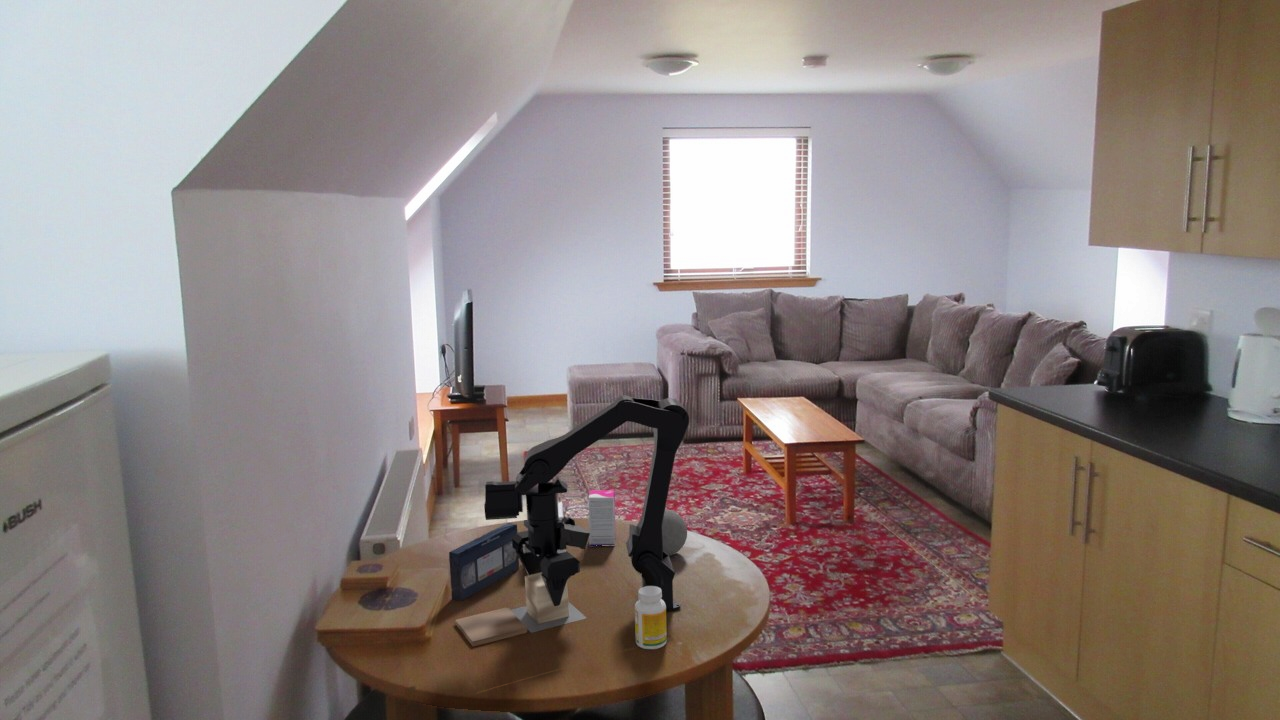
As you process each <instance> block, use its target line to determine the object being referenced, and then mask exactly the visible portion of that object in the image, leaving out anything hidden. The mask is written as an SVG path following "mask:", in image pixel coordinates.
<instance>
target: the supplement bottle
mask: <svg viewBox="0 0 1280 720" xmlns="http://www.w3.org/2000/svg"><path fill="white" fill-rule="evenodd" d="M637 594H638V595H637V597H638V600H636V601H637V602H636V604H634V628H635V630H634V632H635V644H636V645H637V647H640V648H641V649H645V650H657V649H660V648H662V647H664V646H665V645H666V643H667V640H668V639H667V638H668V637H667V635H668V633H667V612H666V604H665V602H664V601H663V600H662V599H661V598H662V590H661V589H660V588H659V587H656V586H645V587H642V586H641V587H640V588H638V592H637Z"/></svg>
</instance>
